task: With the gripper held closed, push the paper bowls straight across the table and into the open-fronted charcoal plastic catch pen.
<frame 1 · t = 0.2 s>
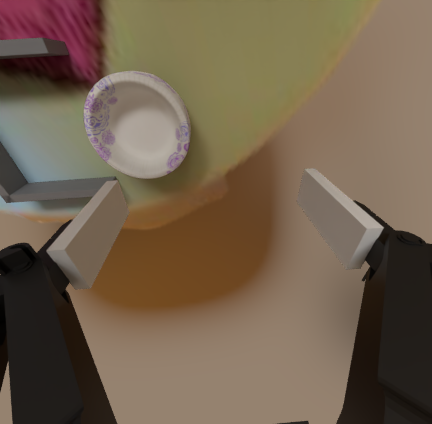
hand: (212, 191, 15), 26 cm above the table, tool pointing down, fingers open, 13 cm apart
paper bowls: (149, 121, 36), on the table
catch pen: (45, 129, 36), on the table
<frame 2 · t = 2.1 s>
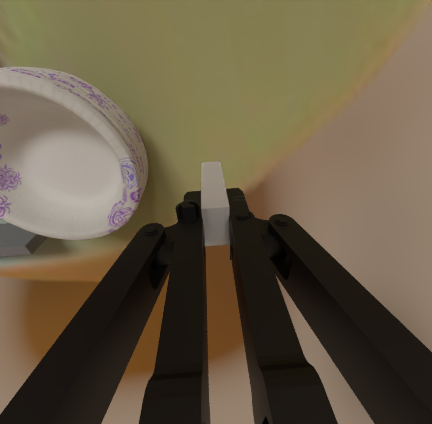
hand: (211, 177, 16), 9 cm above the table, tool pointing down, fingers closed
paper bowls: (88, 147, 23), on the table
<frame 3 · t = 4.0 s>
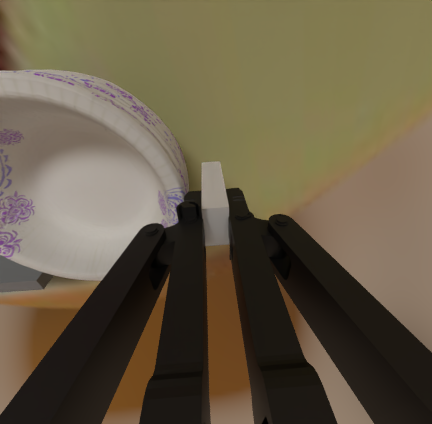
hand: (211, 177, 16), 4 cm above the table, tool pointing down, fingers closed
paper bowls: (113, 165, 20), on the table, touching gripper
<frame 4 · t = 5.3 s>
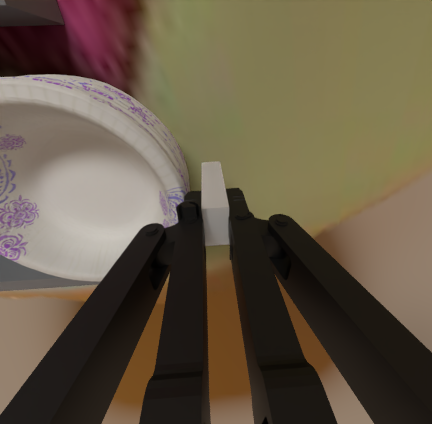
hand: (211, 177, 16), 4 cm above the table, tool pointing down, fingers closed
paper bowls: (114, 167, 20), on the table, touching gripper
catch pen: (16, 169, 19), on the table
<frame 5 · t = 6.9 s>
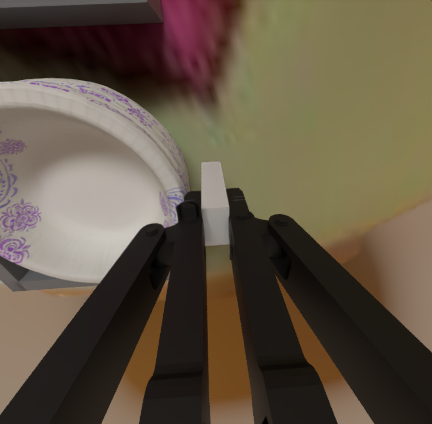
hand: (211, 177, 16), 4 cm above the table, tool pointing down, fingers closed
paper bowls: (115, 169, 20), on the table, touching gripper
catch pen: (89, 167, 19), on the table
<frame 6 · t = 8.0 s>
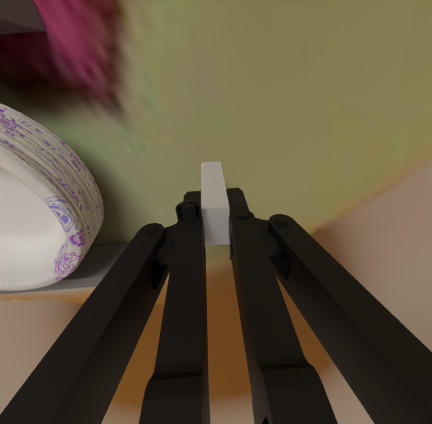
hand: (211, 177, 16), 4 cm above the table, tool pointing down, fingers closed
paper bowls: (36, 176, 20), on the table
catch pen: (9, 175, 19), on the table
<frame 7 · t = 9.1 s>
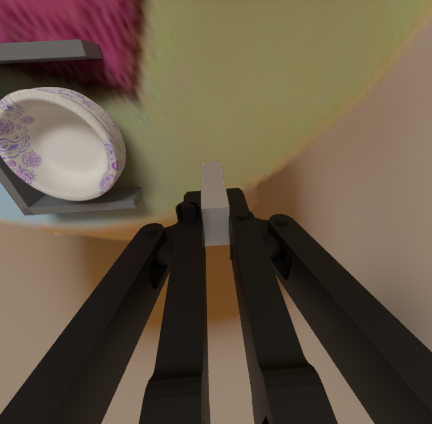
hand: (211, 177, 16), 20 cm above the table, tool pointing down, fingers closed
paper bowls: (85, 138, 34), on the table
catch pen: (70, 137, 33), on the table
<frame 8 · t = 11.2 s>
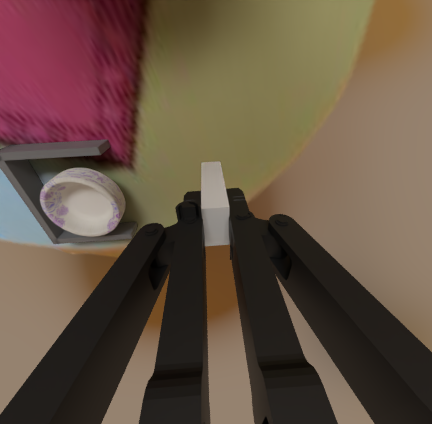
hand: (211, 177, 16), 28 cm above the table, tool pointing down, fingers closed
paper bowls: (97, 191, 48), on the table
catch pen: (86, 191, 48), on the table
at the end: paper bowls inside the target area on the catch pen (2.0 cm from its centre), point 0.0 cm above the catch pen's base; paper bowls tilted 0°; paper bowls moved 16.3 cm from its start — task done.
